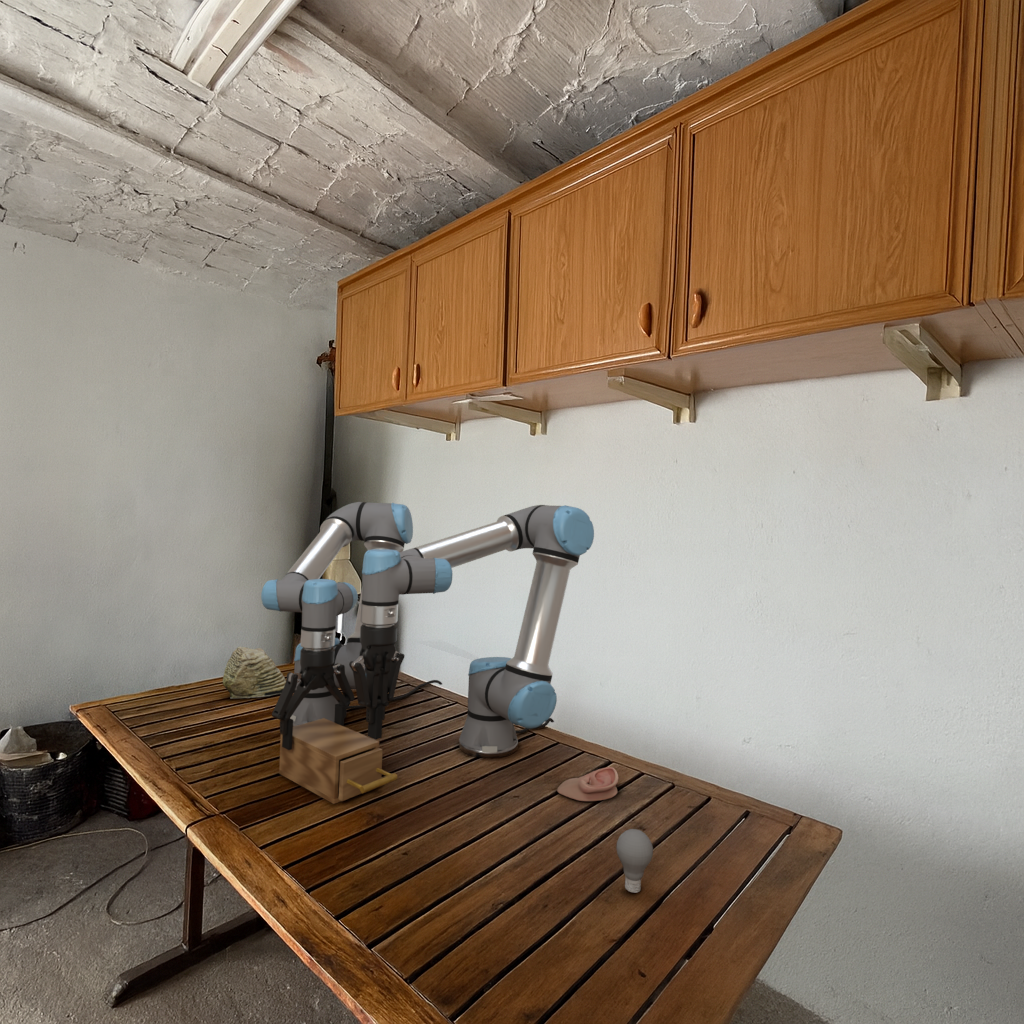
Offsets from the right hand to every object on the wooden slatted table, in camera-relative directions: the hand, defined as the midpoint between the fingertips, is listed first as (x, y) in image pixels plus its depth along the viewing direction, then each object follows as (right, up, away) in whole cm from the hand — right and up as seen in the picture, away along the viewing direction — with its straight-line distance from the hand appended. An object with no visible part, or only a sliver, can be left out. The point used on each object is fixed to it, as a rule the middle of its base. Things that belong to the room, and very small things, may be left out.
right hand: (374, 736), depth 132 cm
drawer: (-8, -12, +6) cm, 16 cm away
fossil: (-52, -10, +66) cm, 85 cm away
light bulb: (+49, -17, -26) cm, 58 cm away
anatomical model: (+46, -16, +10) cm, 49 cm away
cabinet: (-13, -13, +10) cm, 21 cm away
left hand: (-17, -5, +13) cm, 22 cm away
